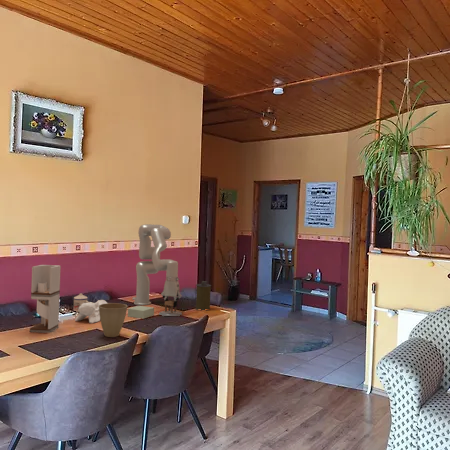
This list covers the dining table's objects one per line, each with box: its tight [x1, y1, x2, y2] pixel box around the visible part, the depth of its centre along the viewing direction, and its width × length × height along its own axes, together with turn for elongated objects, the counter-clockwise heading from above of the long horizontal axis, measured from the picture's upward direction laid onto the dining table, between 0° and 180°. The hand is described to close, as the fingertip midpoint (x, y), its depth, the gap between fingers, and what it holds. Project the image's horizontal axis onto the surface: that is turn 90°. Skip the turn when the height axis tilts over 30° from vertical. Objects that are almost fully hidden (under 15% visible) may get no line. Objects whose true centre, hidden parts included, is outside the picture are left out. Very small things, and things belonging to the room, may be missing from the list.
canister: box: [195, 280, 212, 311], centre depth 306 cm, size 11×10×20 cm
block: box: [127, 305, 155, 319], centre depth 277 cm, size 12×12×5 cm
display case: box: [29, 264, 62, 334], centre depth 234 cm, size 11×11×35 cm
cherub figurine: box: [74, 299, 108, 324], centre depth 261 cm, size 13×12×20 cm
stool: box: [164, 299, 177, 313], centre depth 284 cm, size 6×6×7 cm
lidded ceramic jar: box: [72, 293, 90, 313], centre depth 284 cm, size 12×9×12 cm
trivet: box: [158, 310, 183, 317], centre depth 284 cm, size 15×15×1 cm
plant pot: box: [99, 302, 128, 338], centre depth 228 cm, size 15×15×16 cm
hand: (170, 306), depth 284 cm, fingers closed on stool, 5 cm apart
